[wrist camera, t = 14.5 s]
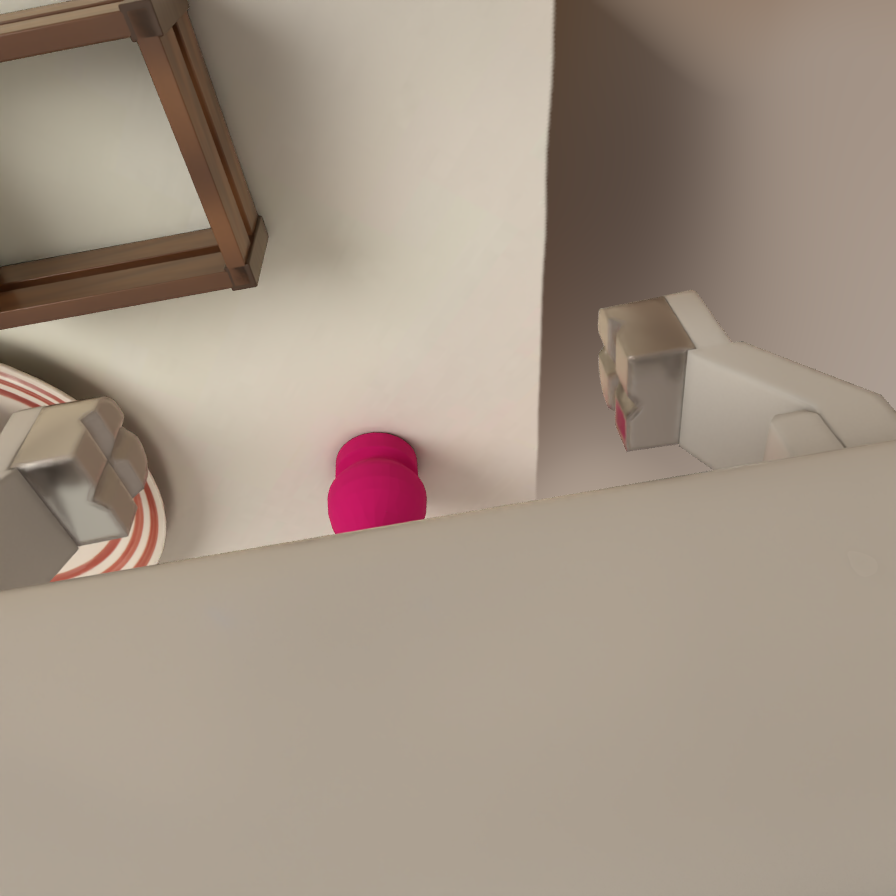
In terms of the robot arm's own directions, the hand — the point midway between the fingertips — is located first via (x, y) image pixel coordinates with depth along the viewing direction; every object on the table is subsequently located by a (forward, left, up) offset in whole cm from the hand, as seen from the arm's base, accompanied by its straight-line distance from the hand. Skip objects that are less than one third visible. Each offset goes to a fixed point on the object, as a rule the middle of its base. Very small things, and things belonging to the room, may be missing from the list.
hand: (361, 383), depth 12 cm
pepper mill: (+30, -6, -31) cm, 44 cm away
